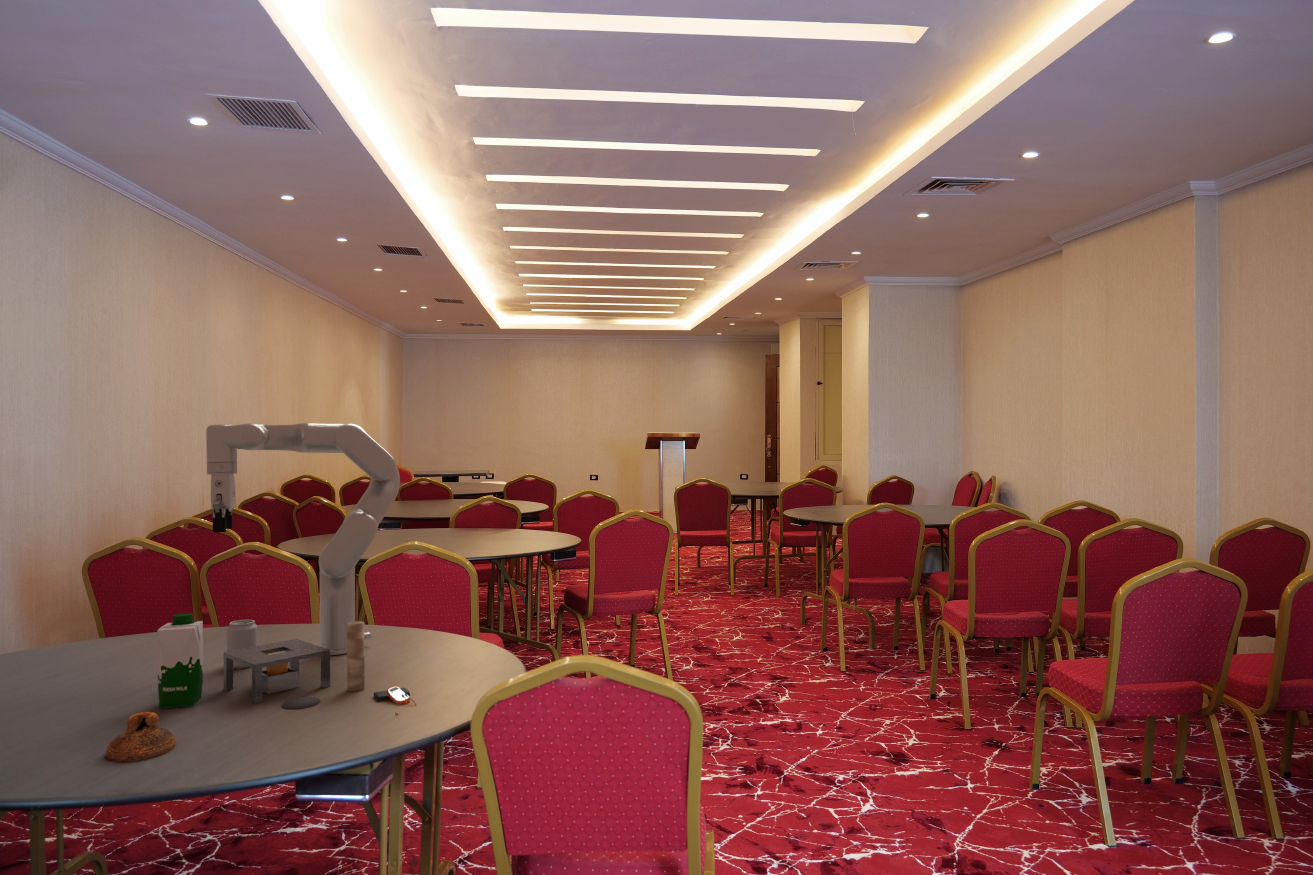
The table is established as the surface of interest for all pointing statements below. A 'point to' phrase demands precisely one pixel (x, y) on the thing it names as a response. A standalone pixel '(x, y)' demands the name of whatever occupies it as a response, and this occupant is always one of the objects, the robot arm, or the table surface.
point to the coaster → (300, 702)
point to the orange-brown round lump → (277, 669)
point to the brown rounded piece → (141, 739)
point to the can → (241, 637)
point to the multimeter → (394, 695)
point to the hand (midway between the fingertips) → (223, 530)
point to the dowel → (355, 656)
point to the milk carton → (180, 662)
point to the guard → (260, 658)
